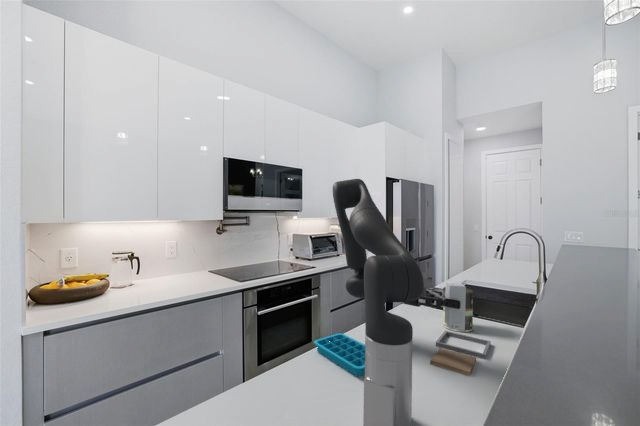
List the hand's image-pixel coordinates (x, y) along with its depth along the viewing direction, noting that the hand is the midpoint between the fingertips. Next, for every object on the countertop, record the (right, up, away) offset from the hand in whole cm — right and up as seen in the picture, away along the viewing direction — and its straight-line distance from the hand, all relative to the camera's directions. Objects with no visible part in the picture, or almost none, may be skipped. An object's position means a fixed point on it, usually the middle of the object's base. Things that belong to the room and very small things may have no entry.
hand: (463, 301), depth 82 cm
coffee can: (+12, -18, +28) cm, 36 cm away
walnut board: (-2, -18, +1) cm, 18 cm away
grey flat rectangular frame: (+6, -18, +13) cm, 23 cm away
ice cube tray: (-32, -18, +3) cm, 37 cm away
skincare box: (-2, -7, +1) cm, 8 cm away
